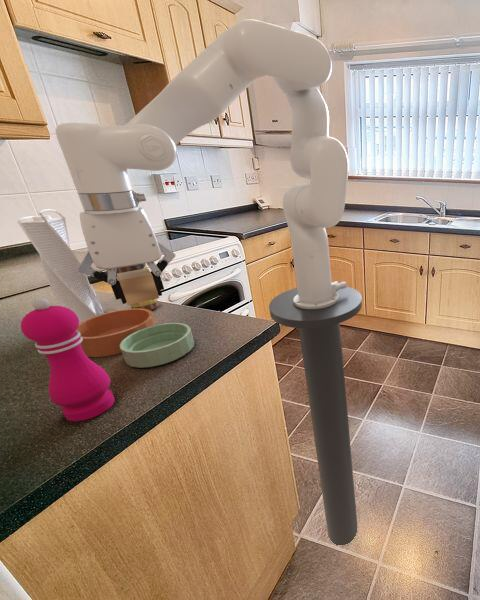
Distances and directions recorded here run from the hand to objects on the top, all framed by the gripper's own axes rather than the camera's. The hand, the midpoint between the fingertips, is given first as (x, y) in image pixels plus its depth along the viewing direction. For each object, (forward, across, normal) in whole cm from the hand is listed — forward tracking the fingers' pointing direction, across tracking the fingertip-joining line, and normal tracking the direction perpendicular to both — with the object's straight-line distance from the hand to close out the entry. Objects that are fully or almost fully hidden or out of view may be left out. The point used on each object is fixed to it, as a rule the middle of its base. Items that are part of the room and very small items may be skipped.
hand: (141, 296), depth 66 cm
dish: (+13, 0, 0) cm, 13 cm away
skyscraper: (+13, +11, -29) cm, 33 cm away
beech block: (0, 0, 0) cm, 0 cm away
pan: (+13, +6, -13) cm, 19 cm away
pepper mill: (+13, +12, +12) cm, 21 cm away
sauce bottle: (+13, -1, -29) cm, 32 cm away
